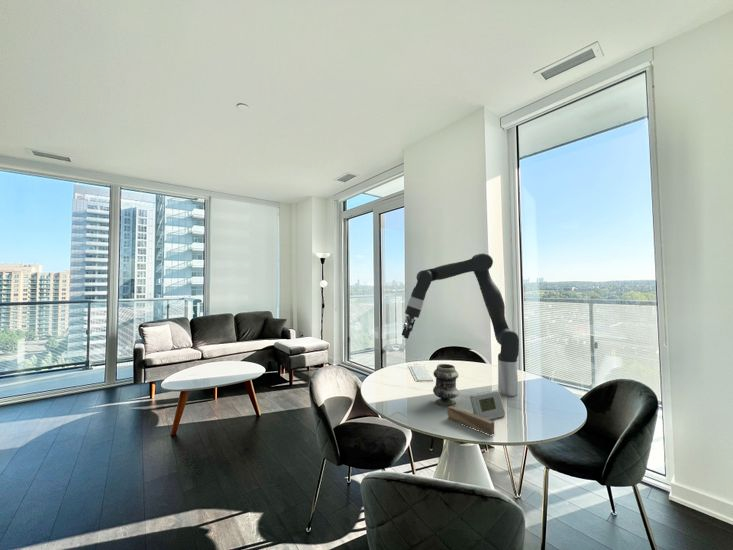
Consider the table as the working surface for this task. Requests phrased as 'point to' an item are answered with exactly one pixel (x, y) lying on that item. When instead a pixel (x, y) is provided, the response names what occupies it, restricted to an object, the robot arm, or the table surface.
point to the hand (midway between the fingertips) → (404, 336)
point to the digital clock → (488, 404)
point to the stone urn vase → (445, 385)
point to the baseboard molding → (420, 373)
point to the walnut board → (471, 420)
